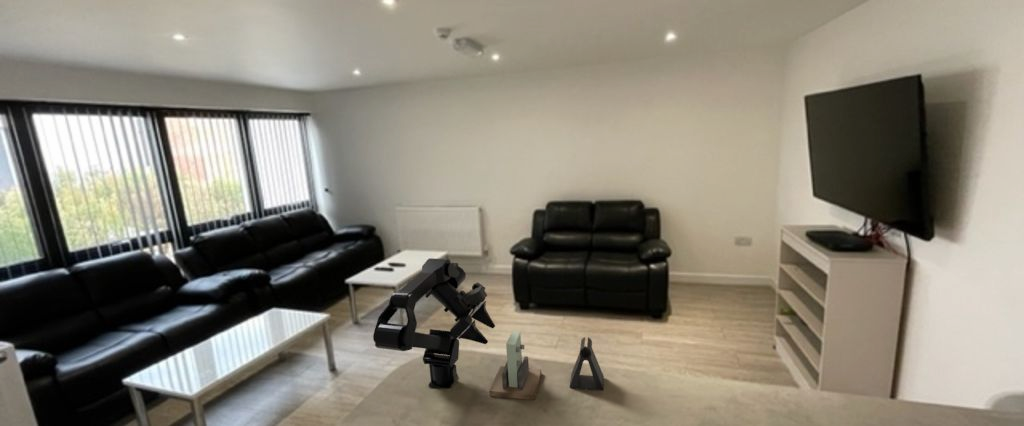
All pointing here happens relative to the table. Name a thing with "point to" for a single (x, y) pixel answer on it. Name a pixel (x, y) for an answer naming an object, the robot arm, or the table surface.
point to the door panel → (514, 358)
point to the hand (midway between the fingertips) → (490, 334)
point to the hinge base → (526, 380)
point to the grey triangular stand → (587, 354)
